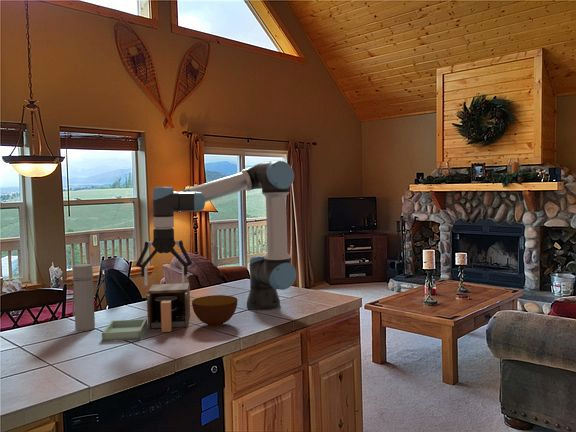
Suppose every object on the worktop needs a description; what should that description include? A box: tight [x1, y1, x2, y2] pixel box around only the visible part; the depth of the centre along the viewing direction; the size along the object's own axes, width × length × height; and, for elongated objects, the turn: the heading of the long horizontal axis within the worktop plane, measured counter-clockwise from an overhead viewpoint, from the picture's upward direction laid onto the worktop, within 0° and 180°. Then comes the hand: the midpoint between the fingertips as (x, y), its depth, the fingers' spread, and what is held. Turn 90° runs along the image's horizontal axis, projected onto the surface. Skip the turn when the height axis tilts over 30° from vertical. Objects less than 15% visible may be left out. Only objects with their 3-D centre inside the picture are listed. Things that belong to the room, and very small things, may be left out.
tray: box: [101, 318, 148, 342], centre depth 181 cm, size 13×16×3 cm
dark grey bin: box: [150, 301, 186, 333], centre depth 192 cm, size 13×21×11 cm, turn 8°
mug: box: [154, 296, 183, 323], centre depth 195 cm, size 12×9×10 cm
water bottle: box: [70, 263, 96, 332], centre depth 187 cm, size 9×8×25 cm
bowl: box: [191, 294, 239, 329], centre depth 190 cm, size 18×18×10 cm
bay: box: [146, 282, 191, 330], centre depth 195 cm, size 15×17×14 cm
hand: (164, 284), depth 182 cm, fingers open, 13 cm apart
